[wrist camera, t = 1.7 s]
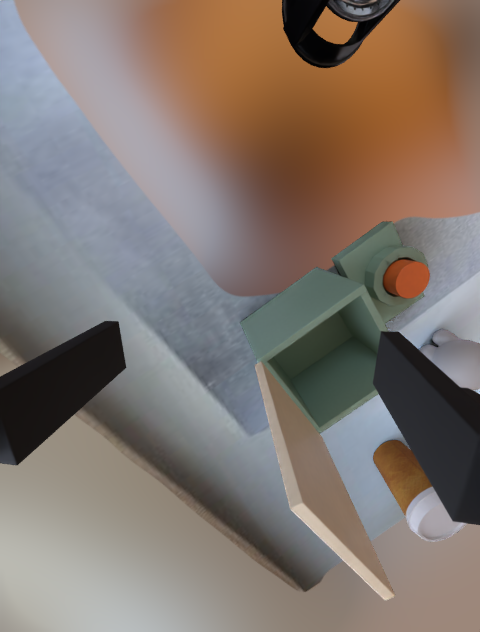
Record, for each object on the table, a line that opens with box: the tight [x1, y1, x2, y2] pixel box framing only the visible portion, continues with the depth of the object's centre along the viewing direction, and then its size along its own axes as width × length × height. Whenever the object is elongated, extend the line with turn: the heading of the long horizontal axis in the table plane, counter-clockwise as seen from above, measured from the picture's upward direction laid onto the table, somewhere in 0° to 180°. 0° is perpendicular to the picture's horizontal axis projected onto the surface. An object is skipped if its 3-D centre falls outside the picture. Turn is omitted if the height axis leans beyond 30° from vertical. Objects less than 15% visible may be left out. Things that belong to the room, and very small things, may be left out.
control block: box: [332, 222, 428, 324], centre depth 36 cm, size 12×9×4 cm
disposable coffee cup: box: [373, 440, 467, 542], centre depth 44 cm, size 10×10×12 cm
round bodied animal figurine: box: [419, 329, 480, 390], centre depth 40 cm, size 7×12×8 cm, turn 144°
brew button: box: [383, 259, 430, 298], centre depth 33 cm, size 4×4×2 cm
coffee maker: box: [240, 267, 389, 434], centre depth 33 cm, size 13×13×11 cm
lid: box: [255, 361, 395, 600], centre depth 22 cm, size 14×13×1 cm
